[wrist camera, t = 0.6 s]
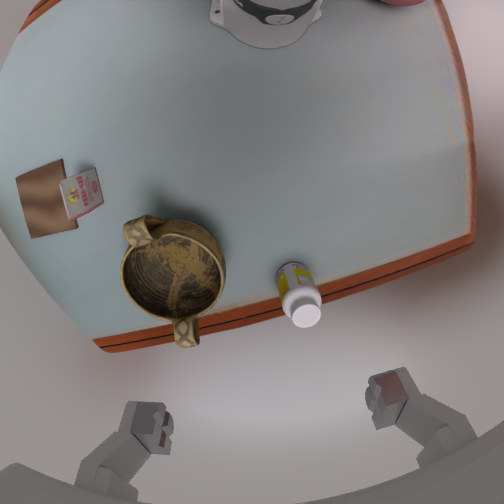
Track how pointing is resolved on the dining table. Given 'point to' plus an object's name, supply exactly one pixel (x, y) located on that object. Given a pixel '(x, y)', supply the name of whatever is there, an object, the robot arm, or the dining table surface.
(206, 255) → the ceramic bowl
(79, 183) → the white red-printed box
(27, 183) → the walnut board
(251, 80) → the dining table surface
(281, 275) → the supplement bottle
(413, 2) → the balloon
